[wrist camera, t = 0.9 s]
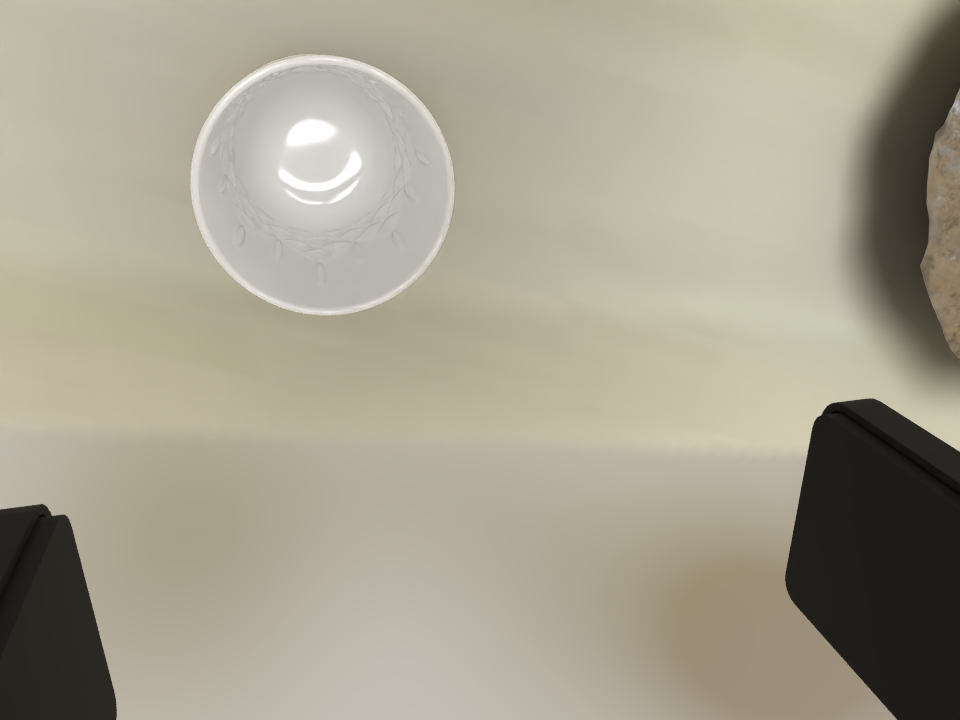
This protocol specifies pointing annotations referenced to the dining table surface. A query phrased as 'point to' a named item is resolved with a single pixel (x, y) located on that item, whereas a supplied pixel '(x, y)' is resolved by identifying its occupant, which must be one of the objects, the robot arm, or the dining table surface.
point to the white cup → (322, 184)
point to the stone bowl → (945, 228)
